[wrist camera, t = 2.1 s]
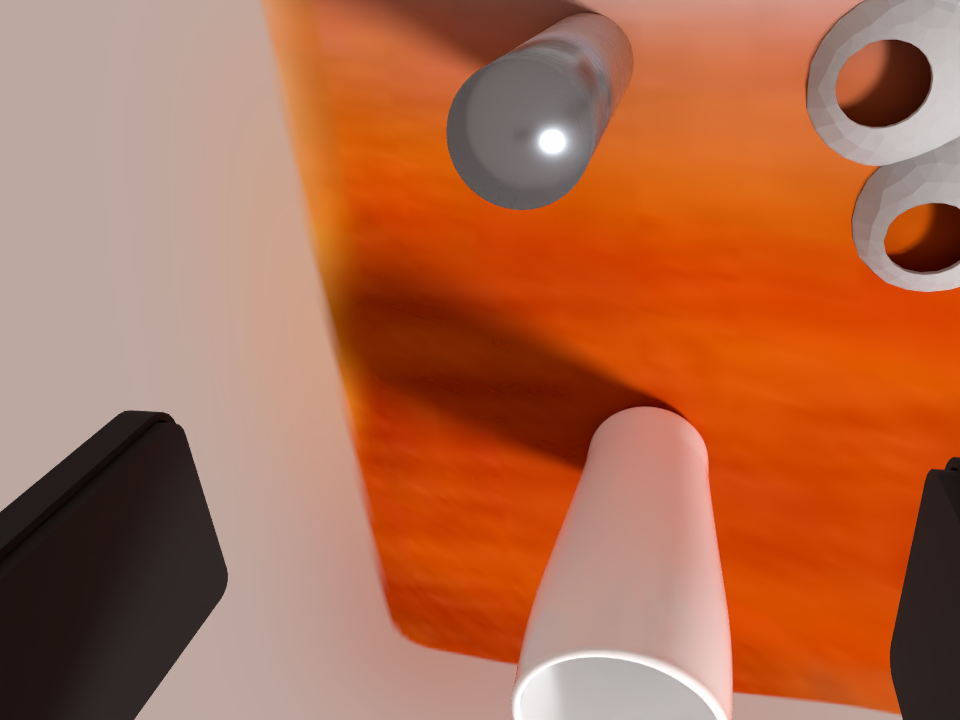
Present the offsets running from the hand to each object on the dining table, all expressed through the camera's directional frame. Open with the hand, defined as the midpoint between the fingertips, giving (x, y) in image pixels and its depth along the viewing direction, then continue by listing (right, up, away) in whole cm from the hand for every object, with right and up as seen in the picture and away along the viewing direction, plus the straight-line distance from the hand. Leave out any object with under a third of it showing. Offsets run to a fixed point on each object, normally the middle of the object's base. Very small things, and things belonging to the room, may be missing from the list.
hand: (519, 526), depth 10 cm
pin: (+3, +13, +19) cm, 23 cm away
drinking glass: (+7, -2, +26) cm, 28 cm away
